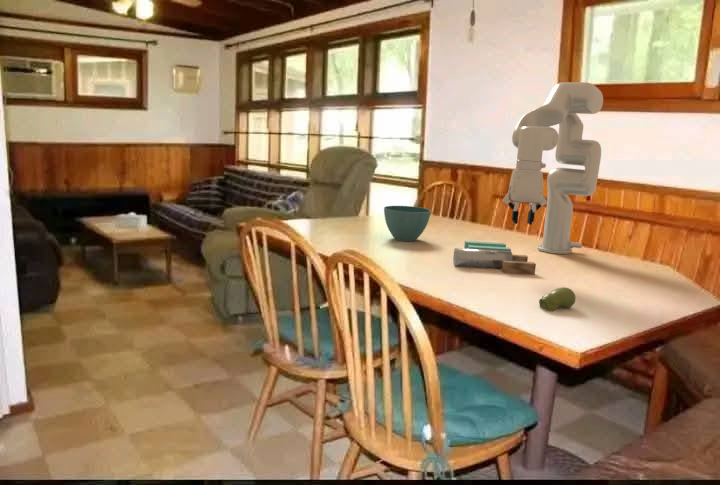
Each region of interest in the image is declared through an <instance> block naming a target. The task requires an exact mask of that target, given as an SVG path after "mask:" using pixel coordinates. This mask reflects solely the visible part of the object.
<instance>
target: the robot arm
mask: <svg viewBox="0 0 720 485" xmlns="http://www.w3.org/2000/svg"><path fill="white" fill-rule="evenodd" d="M603 104H604V96H603V92H602V91H601V90H600V89H599V88H598V87H597V86H596V85H595V84H592V83H590V82H587V81H586V82H585V81H584V82H583V81H582V82H578V81H577V82H576V81H575V82H574V81H573V82H572V81H570V82H569V81H566V82H565V81H563V82H559V83H557V84H555V85H554V86H553V88H552V89H551V91H550V92H549V94H548V96H547V98H546V100H545V101H544V103H543V104H542V105H541V106H539V107H537V108H534V109H532V110H531V111H529V112H527V113H525V114H524V115H523V116H521V118H520V119H519V121H518V122H517V124H516V126H515V128H514V130H513V132H512V136H511V137H512V138H511V140H512V144H513V146H514V148H516V149H517V154H516V164H515V169H513V170H512V173H511V175H510V180H509V185H508V186H509V187H508V192H507V193H506V194H505V196H504V197H503V198H502V202H504V203H505V204H506V205H507V206H508V207H509V208H510V209H511V210H512V212H511V213H512V214H511V221H512V222H513V224H516V225H517V224H518V222H519V214H520V213H519V210H518V208H519V206H520V205H519V204H520V203H529V210H528V211H527V212H528V213H527V221H526V223H527V224H528V225H532V224H533V222H534V221H535V213H536V212H537V211H538V210H539V209H540V208H541V207H544V206H546V208H545V217H544V228H543V237H542V244H538V245H537V250H538V251H541V252H543V253H544V252H545V253H548V254H549V253H550V254H557V255H559V254H560V255H569V254H572V253H573V248H575V249H577V248H578V249H581V248H583V244H582V243H581V242H575V241H572V240H570V236H571V226H572V220H573V219H572V218H573V211H574V205H573V202H572V200H571V198H570V197H569V195H570V196H571V195H573V196H580V197H588V196H589V197H590V196H592V195H594V194H595V192H596V189H597V185H598V184H597V183H598V178H599V171H600V165H601V160H602V159H601V158H602V145H601V144H600V143H599V141H597V140H594V139H583V134H584V123H583V122H582V120H581V118H580V117H579V115H578V114H581V115H582V114H585V115H595V114H598V113H599V112H600V111H601V109H602V108H603ZM557 125H558V126H559V127H558V131H557V129H555V128H553V126H557ZM553 149H555V161H556V162H557V163H558V164H562V165H566V166H567V165H570V166H578V167H579V166H580V167H584V169H581V168H570V167H555V168H552V169H551V170H550V171H549V172H548V174H547V177H546V185H547V186H546V187H547V197H546V198H547V200H546V198H545V195H544V194H543V192H544V175H543V174H544V173H543V171H542V169H545V168H546V166H547V165H546V164H547V163H544V162H543V161H542V160H543V159H542V158H543V151H545V152H547V151H551V150H553ZM511 201H512V202H511Z"/></svg>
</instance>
